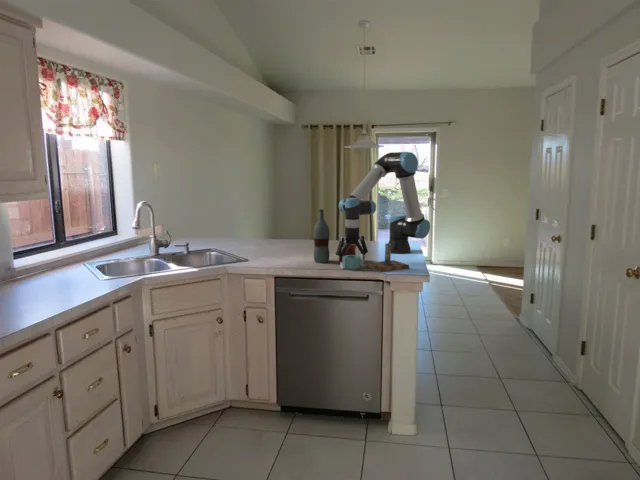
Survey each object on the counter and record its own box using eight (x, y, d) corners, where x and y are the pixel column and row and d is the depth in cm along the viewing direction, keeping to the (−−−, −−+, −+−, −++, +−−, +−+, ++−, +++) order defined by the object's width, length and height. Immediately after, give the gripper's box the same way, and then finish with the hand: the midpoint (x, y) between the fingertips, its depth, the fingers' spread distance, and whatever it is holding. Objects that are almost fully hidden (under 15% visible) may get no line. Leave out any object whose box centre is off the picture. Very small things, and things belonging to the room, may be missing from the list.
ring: (354, 265, 251) (354, 254, 250) (362, 268, 243) (362, 257, 242) (341, 266, 247) (341, 255, 246) (348, 269, 240) (348, 258, 239)
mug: (342, 259, 267) (342, 242, 265) (357, 259, 265) (357, 242, 263) (339, 263, 255) (339, 245, 254) (355, 264, 253) (355, 246, 252)
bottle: (326, 263, 254) (326, 210, 250) (311, 262, 258) (310, 210, 253) (331, 260, 263) (331, 209, 258) (316, 259, 266) (316, 208, 261)
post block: (393, 263, 255) (394, 240, 252) (409, 268, 242) (409, 244, 240) (366, 266, 247) (366, 243, 245) (380, 272, 234) (381, 247, 232)
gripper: (367, 224, 250) (366, 263, 254) (329, 227, 240) (329, 267, 243) (374, 226, 243) (374, 266, 247) (335, 229, 233) (335, 270, 237)
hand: (351, 267), depth 245 cm, fingers open, 11 cm apart
